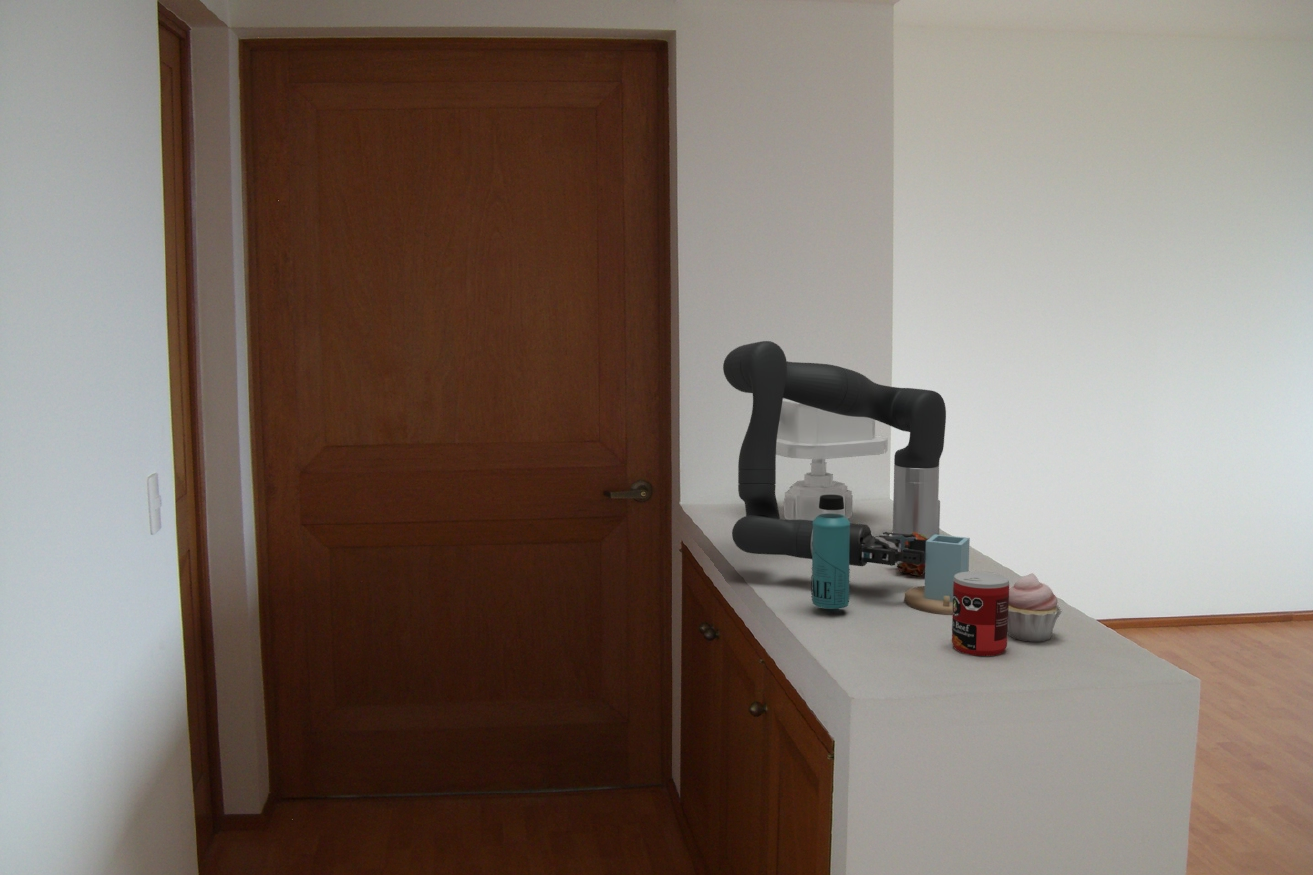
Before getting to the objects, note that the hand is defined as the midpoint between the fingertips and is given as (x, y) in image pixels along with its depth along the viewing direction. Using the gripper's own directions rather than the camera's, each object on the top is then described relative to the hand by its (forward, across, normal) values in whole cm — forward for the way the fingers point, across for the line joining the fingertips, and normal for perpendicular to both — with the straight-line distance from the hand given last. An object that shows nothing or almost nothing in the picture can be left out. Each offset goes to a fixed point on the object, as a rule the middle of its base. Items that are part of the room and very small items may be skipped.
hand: (931, 552), depth 185 cm
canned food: (+13, -22, +9) cm, 27 cm away
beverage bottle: (-13, -14, +9) cm, 21 cm away
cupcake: (+19, -12, +9) cm, 24 cm away
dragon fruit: (-8, +18, +9) cm, 21 cm away
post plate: (+3, 0, +9) cm, 9 cm away
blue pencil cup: (+3, 0, +7) cm, 8 cm away
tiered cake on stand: (-39, +53, +9) cm, 66 cm away
